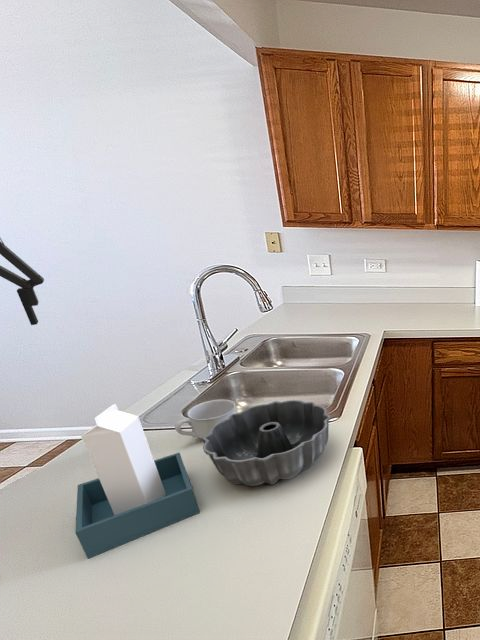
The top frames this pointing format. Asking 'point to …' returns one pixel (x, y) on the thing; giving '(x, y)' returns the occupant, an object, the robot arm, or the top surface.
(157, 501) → the tote
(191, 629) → the top surface
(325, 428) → the bundt pan
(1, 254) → the robot arm
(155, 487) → the milk
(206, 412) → the teacup
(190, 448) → the top surface
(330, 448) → the top surface
